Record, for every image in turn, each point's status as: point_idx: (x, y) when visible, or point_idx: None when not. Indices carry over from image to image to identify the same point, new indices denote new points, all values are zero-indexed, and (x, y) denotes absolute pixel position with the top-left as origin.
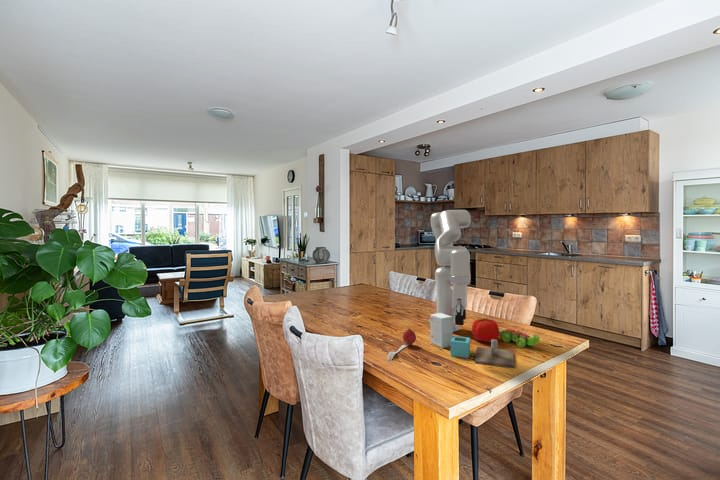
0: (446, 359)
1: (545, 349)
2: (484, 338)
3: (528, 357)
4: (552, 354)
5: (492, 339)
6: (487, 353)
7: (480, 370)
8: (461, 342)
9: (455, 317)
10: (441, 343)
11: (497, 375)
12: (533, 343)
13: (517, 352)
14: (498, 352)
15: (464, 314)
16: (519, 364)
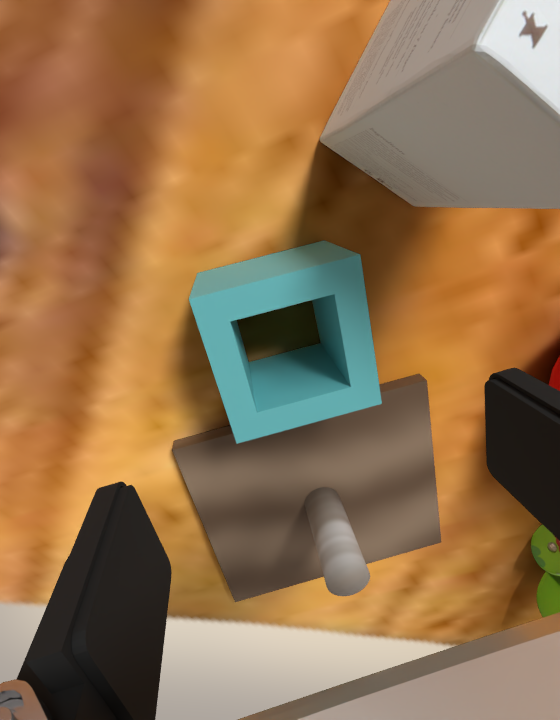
0: (107, 273)
1: (535, 607)
2: None
3: (402, 590)
4: (480, 636)
5: (362, 566)
6: (331, 467)
7: (89, 496)
8: (220, 391)
9: (55, 600)
10: (330, 131)
11: None
12: (544, 603)
13: (450, 543)
14: (377, 503)
15: (545, 515)
16: (292, 590)
